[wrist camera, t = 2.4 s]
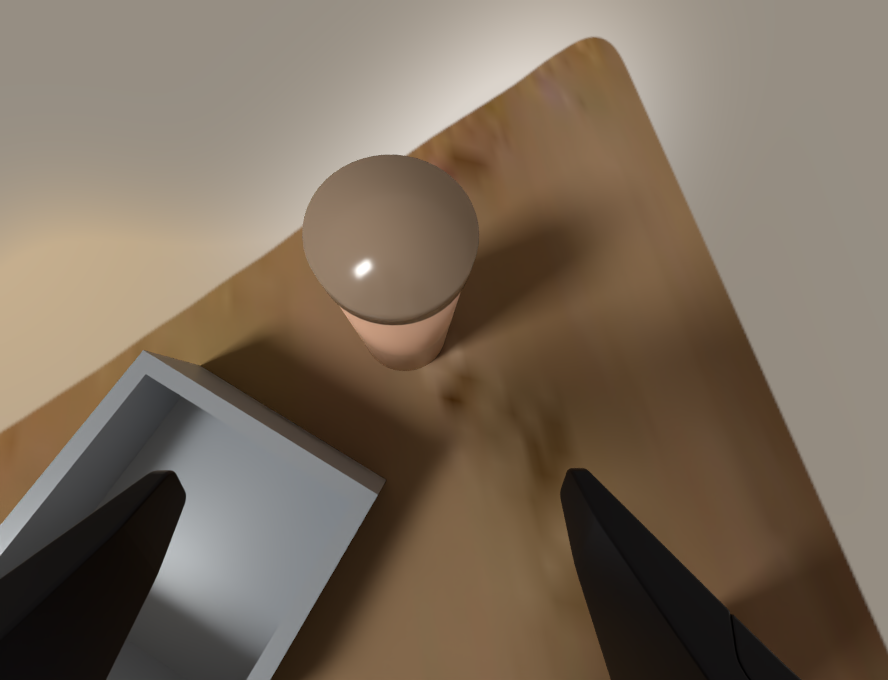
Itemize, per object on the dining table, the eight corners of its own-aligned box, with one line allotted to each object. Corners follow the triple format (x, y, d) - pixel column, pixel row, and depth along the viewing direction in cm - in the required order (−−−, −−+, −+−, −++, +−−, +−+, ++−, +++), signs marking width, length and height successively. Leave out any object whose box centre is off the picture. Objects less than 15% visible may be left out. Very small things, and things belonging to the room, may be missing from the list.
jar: (462, 316, 23) (509, 206, 11) (419, 388, 22) (422, 348, 10) (391, 275, 23) (366, 127, 12) (345, 344, 22) (265, 255, 11)
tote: (386, 479, 21) (377, 494, 16) (245, 721, 18) (189, 818, 13) (199, 365, 21) (143, 350, 17) (35, 580, 18) (-84, 628, 14)
